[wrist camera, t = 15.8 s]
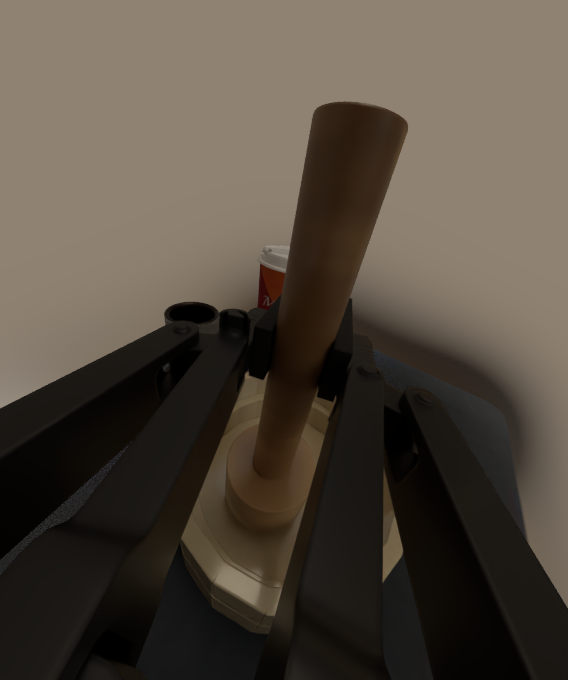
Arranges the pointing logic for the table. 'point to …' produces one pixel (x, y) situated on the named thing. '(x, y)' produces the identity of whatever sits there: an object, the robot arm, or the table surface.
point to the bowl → (249, 545)
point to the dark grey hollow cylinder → (194, 315)
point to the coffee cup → (272, 274)
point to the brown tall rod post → (313, 303)
